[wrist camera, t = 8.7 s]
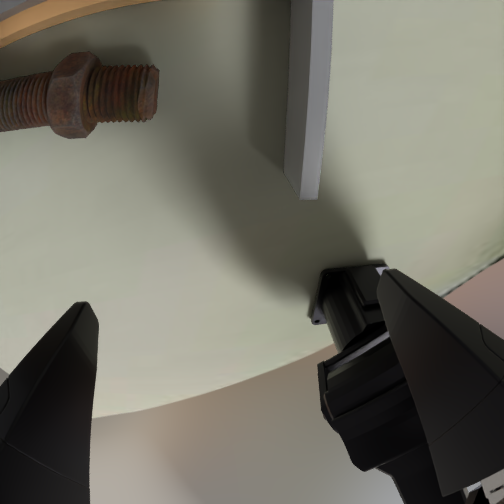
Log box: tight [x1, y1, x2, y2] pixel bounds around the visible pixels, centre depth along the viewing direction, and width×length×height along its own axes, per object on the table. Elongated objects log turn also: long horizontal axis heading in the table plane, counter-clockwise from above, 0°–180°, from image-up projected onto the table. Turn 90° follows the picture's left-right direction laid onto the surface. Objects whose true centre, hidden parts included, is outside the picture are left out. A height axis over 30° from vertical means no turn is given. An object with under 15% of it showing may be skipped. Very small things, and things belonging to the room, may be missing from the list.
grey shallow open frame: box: [0, 0, 333, 200], centre depth 12 cm, size 14×26×4 cm, turn 89°
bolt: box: [0, 51, 159, 139], centre depth 12 cm, size 6×5×15 cm
